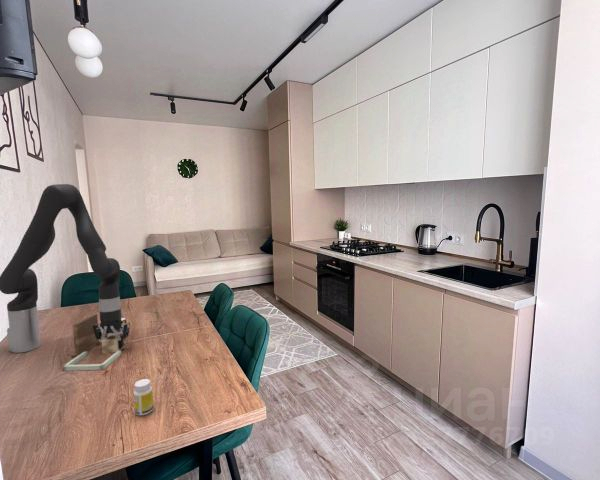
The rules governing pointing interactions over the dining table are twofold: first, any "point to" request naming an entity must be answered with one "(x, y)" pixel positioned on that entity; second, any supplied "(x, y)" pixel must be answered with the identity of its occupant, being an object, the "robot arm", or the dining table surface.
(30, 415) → the dining table surface
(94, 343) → the screen
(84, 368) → the bay
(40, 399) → the dining table surface
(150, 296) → the dining table surface
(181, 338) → the dining table surface
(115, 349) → the letter cube
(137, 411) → the supplement bottle
